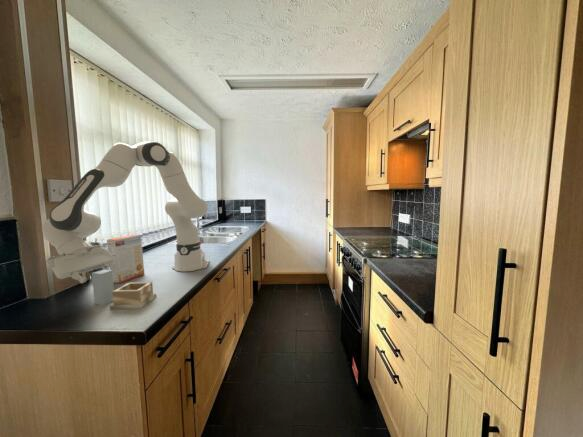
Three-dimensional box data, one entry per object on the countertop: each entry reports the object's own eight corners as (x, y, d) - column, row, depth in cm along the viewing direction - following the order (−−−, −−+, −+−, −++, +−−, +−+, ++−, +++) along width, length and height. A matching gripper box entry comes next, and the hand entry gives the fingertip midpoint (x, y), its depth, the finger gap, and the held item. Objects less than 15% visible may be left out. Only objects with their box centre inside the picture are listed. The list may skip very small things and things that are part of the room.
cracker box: (136, 273, 135) (132, 234, 132) (145, 274, 133) (141, 234, 131) (110, 282, 121) (106, 239, 119) (119, 283, 119) (115, 239, 117)
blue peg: (94, 303, 98) (91, 273, 96) (105, 299, 102) (103, 269, 101) (103, 305, 96) (100, 273, 95) (114, 300, 101) (112, 270, 100)
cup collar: (129, 296, 104) (127, 282, 103) (156, 296, 104) (155, 281, 103) (110, 309, 93) (108, 292, 92) (140, 308, 93) (139, 291, 92)
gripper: (48, 252, 90) (71, 281, 88) (104, 241, 109) (124, 265, 108) (40, 264, 91) (63, 293, 90) (97, 251, 111) (116, 274, 109)
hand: (97, 277), depth 99 cm, fingers open, 8 cm apart
